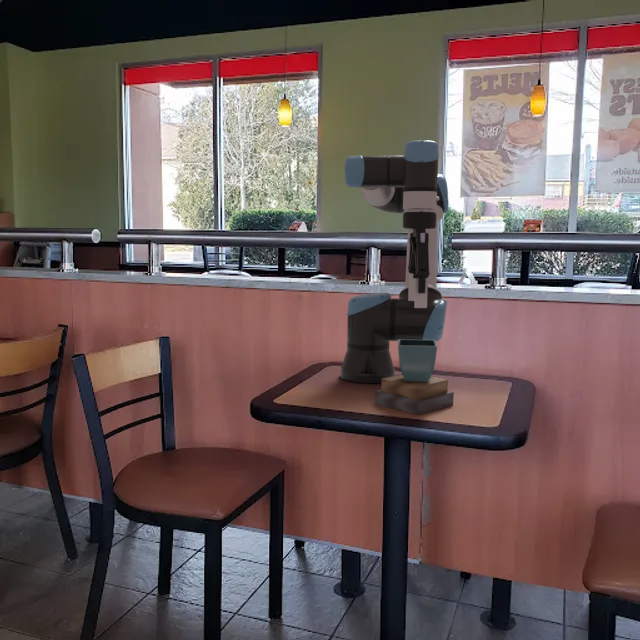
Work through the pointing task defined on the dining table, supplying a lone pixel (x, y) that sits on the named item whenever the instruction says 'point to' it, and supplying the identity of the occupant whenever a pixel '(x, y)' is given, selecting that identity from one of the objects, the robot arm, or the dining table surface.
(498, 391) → the dining table surface
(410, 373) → the flower pot
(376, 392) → the tier stand
